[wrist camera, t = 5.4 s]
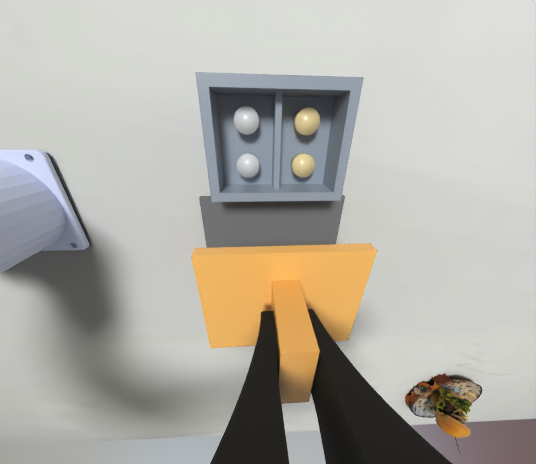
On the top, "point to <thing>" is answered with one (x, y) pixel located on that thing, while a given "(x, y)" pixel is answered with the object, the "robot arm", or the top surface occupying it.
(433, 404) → the burger
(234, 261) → the lid
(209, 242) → the mat
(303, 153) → the tub
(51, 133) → the top surface
